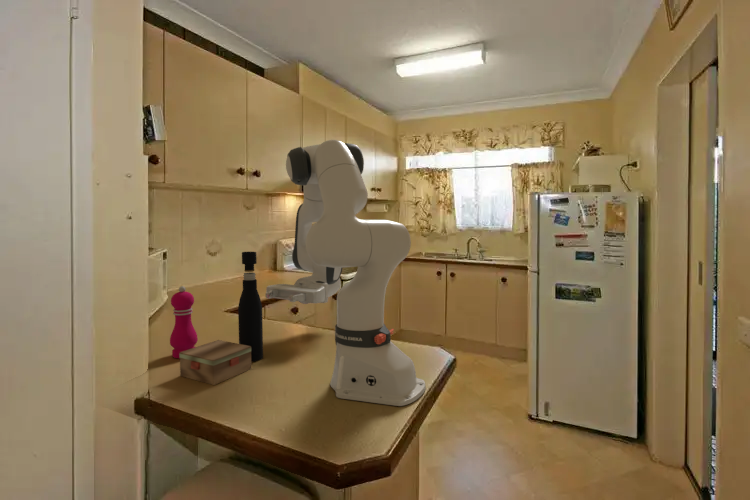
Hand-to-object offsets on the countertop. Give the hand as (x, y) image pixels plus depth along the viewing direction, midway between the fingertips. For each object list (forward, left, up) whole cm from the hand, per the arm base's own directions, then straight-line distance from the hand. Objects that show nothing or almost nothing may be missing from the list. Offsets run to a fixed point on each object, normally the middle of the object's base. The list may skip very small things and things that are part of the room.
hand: (279, 297), depth 125 cm
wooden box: (0, +24, -15) cm, 29 cm away
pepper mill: (+19, +19, -15) cm, 31 cm away
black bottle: (0, +12, -15) cm, 20 cm away
